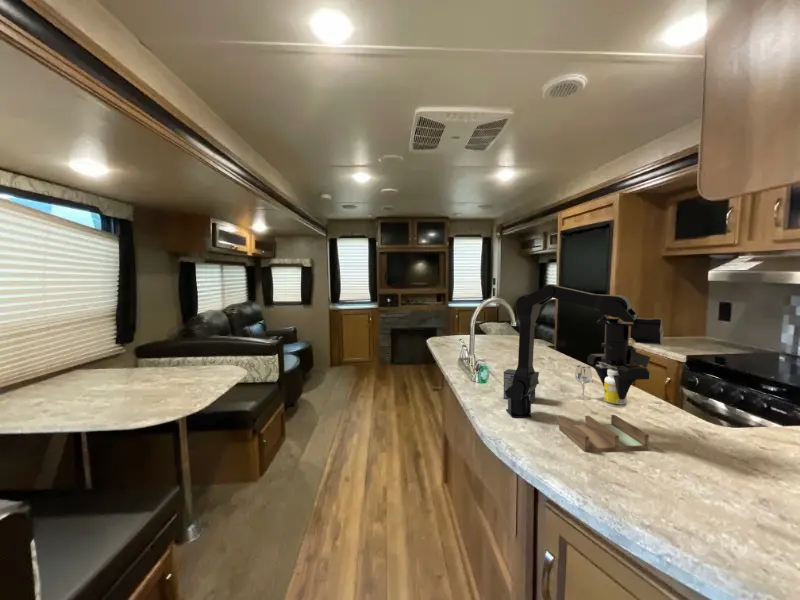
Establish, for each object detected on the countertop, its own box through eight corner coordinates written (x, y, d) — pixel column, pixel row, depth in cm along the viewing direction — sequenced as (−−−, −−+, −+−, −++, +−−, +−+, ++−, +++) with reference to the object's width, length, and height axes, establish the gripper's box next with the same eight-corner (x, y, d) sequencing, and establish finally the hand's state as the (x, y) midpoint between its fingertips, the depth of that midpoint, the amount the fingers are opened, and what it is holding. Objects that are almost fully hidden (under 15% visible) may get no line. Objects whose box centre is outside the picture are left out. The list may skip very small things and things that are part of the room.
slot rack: (585, 451, 94) (585, 436, 93) (559, 429, 108) (559, 416, 107) (648, 449, 94) (648, 434, 94) (614, 427, 108) (614, 414, 108)
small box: (535, 398, 135) (536, 371, 135) (532, 404, 130) (532, 375, 129) (507, 394, 141) (507, 368, 140) (502, 399, 136) (503, 371, 135)
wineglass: (590, 401, 131) (590, 369, 131) (573, 398, 135) (573, 367, 134) (593, 397, 136) (593, 366, 135) (576, 394, 139) (576, 364, 139)
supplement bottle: (606, 400, 105) (607, 367, 104) (628, 404, 101) (629, 370, 100) (601, 405, 101) (602, 370, 100) (623, 409, 97) (624, 374, 96)
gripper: (671, 346, 91) (669, 407, 92) (622, 335, 109) (621, 385, 110) (628, 347, 90) (626, 408, 91) (586, 335, 109) (585, 386, 110)
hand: (615, 396), depth 101 cm, fingers closed on supplement bottle, 5 cm apart
